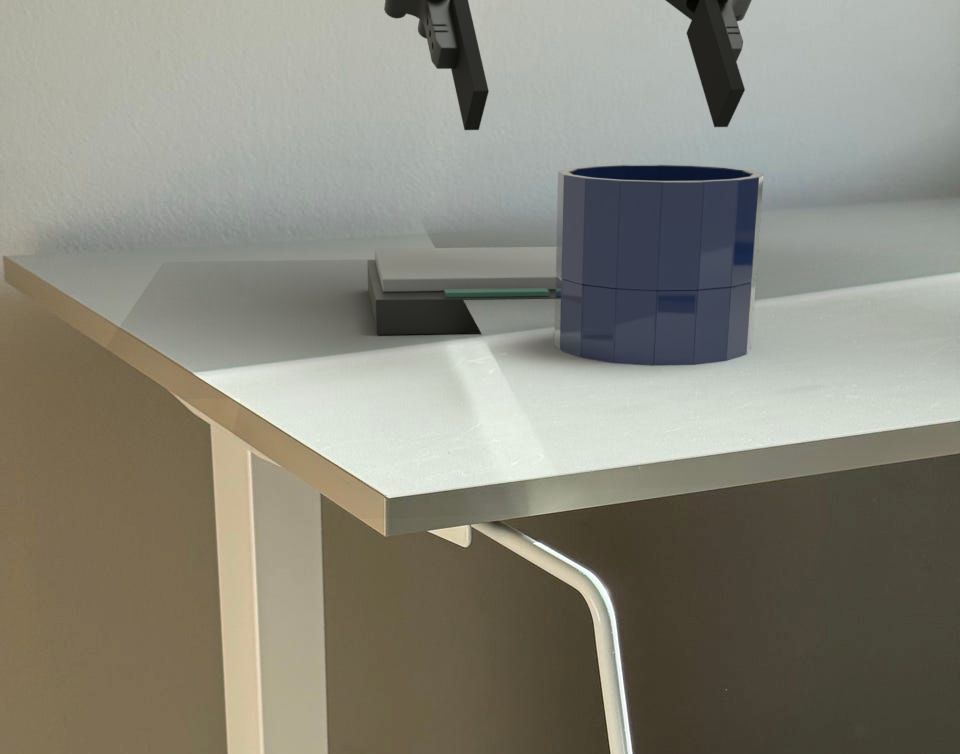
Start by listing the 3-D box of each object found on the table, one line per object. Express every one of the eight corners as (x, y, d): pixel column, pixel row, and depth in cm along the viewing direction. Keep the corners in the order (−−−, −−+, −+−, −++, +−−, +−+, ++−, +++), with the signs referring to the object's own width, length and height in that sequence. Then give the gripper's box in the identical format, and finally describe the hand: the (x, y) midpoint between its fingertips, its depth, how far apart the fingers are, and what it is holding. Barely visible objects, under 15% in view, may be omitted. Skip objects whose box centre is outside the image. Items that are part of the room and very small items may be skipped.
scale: (573, 287, 100) (574, 245, 99) (617, 331, 86) (619, 282, 84) (368, 290, 99) (366, 247, 98) (376, 335, 84) (375, 285, 83)
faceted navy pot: (719, 362, 77) (732, 163, 74) (770, 404, 69) (787, 181, 65) (542, 366, 76) (546, 164, 73) (571, 408, 68) (577, 182, 64)
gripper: (712, -123, 89) (801, 156, 81) (301, -136, 83) (356, 164, 75) (756, -239, 82) (858, 54, 74) (312, -261, 76) (373, 54, 69)
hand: (605, 110), depth 75 cm, fingers open, 13 cm apart
